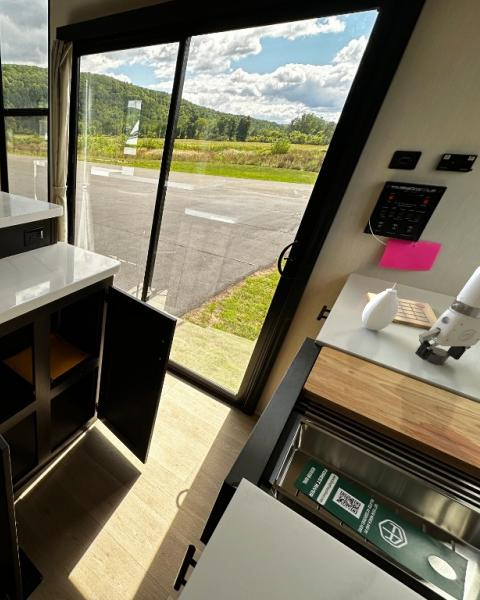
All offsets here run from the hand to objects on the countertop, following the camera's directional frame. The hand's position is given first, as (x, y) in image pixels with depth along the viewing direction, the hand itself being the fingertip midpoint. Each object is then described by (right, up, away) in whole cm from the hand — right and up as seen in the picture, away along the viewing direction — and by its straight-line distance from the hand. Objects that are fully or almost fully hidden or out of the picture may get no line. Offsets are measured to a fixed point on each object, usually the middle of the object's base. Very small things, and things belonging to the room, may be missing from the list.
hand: (436, 356), depth 95 cm
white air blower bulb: (-6, +7, +15) cm, 17 cm away
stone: (0, -1, +1) cm, 1 cm away
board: (+12, +13, +22) cm, 28 cm away
